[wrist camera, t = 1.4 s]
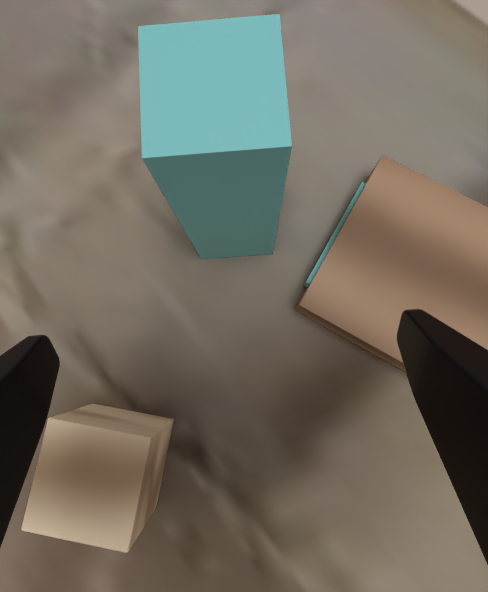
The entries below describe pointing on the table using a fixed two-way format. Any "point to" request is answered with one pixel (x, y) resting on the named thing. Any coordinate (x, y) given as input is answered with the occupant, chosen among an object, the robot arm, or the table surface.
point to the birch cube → (98, 476)
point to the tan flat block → (402, 262)
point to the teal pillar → (217, 128)
